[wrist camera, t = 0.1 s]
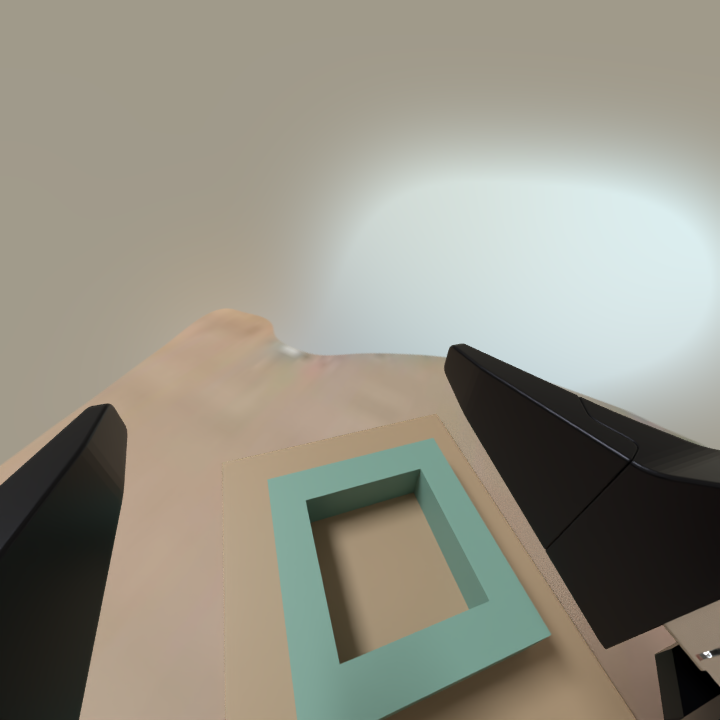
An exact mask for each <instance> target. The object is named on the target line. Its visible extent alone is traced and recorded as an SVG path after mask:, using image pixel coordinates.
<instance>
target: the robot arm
mask: <svg viewBox="0 0 720 720" xmlns="http://www.w3.org/2000/svg"><path fill="white" fill-rule="evenodd" d="M444 371H445V374H446V376H447V379H448V381H449V383H450V385H451V387H452V389H453V392H454V394H455V396H456V398H457V400H458V402H459V405H460V407H461V409H462V411H463V413H464V415H465V417H466V418H467V420H468V422H469V423H470V425H471V427H472V428H473V430H474V432H475V433H476V435H477V437H478V439H479V440H480V442H481V444H482V445H483V447H484V449H485V450H486V452H487V454H488V455H489V457H490V459H491V460H492V462H493V464H494V465H495V467H496V469H497V470H498V472H499V474H500V475H501V477H502V479H503V480H504V482H505V484H506V485H507V487H508V489H509V490H510V492H511V494H512V495H513V497H514V499H515V500H516V502H517V504H518V505H519V507H520V509H521V510H522V512H523V514H524V516H525V517H526V519H527V521H528V522H529V524H530V526H531V527H532V529H533V531H534V532H535V534H536V536H537V537H538V539H539V541H540V542H541V544H542V546H543V547H544V549H546V553H547V554H548V556H549V558H550V559H551V561H552V563H553V564H554V566H555V568H556V569H557V571H558V573H559V574H560V576H561V578H562V579H563V581H564V583H565V584H566V586H567V588H568V589H569V591H570V593H571V594H572V596H573V598H574V600H575V601H576V603H577V605H578V606H579V608H580V610H581V611H582V613H583V615H584V616H585V618H586V620H587V621H588V623H589V625H590V626H591V628H592V630H593V631H594V633H595V635H596V636H597V638H598V640H599V641H600V643H601V644H602V645H603V647H604V648H605V649H608V648H610V647H613V646H615V645H617V644H620V643H622V642H624V641H626V640H629V639H631V638H633V637H636V636H638V635H640V634H643V633H645V632H647V631H649V630H652V629H654V628H656V627H659V626H661V625H663V626H664V627H665V628H666V629H667V631H668V632H669V633H670V634H671V636H672V637H673V638H674V639H675V640H676V643H675V644H673V645H671V646H669V647H667V648H666V649H664V650H662V651H660V652H658V653H656V654H655V659H656V666H657V673H658V680H659V686H660V693H661V700H662V707H663V714H664V720H720V450H716V449H711V448H707V447H703V446H700V445H697V444H694V443H691V442H689V441H686V440H684V439H681V438H679V437H676V436H673V435H671V434H668V433H666V432H663V431H661V430H658V429H656V428H653V427H651V426H648V425H646V424H643V423H640V422H638V421H635V420H633V419H631V418H628V417H626V416H623V415H621V414H618V413H616V412H613V411H611V410H609V409H607V408H604V407H602V406H600V405H597V404H595V403H593V402H591V401H589V400H586V399H584V398H582V397H578V396H577V395H575V394H573V393H571V392H569V391H567V390H564V389H562V388H560V387H558V386H556V385H553V384H551V383H549V382H547V381H545V380H543V379H540V378H538V377H536V376H534V375H532V374H529V373H527V372H525V371H523V370H521V369H518V368H516V367H514V366H512V365H510V364H507V363H505V362H503V361H501V360H499V359H496V358H494V357H492V356H490V355H488V354H486V353H483V352H481V351H479V350H477V349H475V348H472V347H470V346H468V345H466V344H456V345H452V346H451V347H450V348H449V351H448V354H447V358H446V361H445V365H444ZM126 449H127V429H126V426H125V424H124V422H123V421H122V419H121V418H120V416H119V414H118V413H117V411H116V409H115V408H114V407H113V406H112V405H111V404H101V405H95V406H91V407H88V408H87V409H86V410H84V411H83V412H82V413H81V414H80V415H79V416H78V417H77V418H75V419H74V420H73V421H72V422H71V423H70V424H69V425H68V426H66V427H65V428H64V429H63V430H62V431H61V432H60V433H59V434H58V435H56V436H55V437H54V438H53V439H52V440H51V441H50V442H49V443H47V444H46V445H45V446H44V447H43V448H42V449H41V450H40V451H38V452H37V453H36V454H35V455H34V456H33V457H32V458H31V459H29V460H28V461H27V462H26V463H25V464H24V465H23V466H22V467H20V468H19V469H18V470H17V471H16V472H15V473H14V474H13V475H12V476H10V477H9V478H8V479H7V480H6V481H5V482H4V483H3V484H1V485H0V720H79V717H80V712H81V707H82V702H83V697H84V692H85V687H86V682H87V677H88V672H89V666H90V661H91V656H92V651H93V646H94V641H95V636H96V631H97V626H98V621H99V616H100V611H101V606H102V601H103V596H104V591H105V586H106V581H107V575H108V570H109V565H110V560H111V555H112V550H113V545H114V540H115V535H116V530H117V525H118V520H119V515H120V510H121V505H122V499H123V493H124V481H125V465H126Z"/></svg>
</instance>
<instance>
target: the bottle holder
mask: <svg viewBox="0 0 720 720" xmlns="http://www.w3.org/2000/svg"><path fill="white" fill-rule="evenodd" d="M222 501H223V587H224V674H225V720H636V719H635V717H634V716H633V714H632V712H631V711H630V709H629V708H628V706H627V705H626V703H625V702H624V700H623V699H622V697H621V696H620V694H619V693H618V691H617V690H616V688H615V686H614V685H613V683H612V682H611V680H610V679H609V677H608V676H607V674H606V673H605V671H604V670H603V668H602V667H601V665H600V663H599V662H598V660H597V659H596V657H595V656H594V654H593V653H592V651H591V650H590V648H589V647H588V645H587V644H586V642H585V641H584V639H583V637H582V636H581V634H580V633H579V631H578V630H577V628H576V627H575V625H574V624H573V622H572V621H571V619H570V618H569V616H568V614H567V613H566V611H565V610H564V608H563V607H562V605H561V604H560V602H559V601H558V599H557V598H556V596H555V595H554V593H553V592H552V590H551V588H550V587H549V585H548V584H547V582H546V581H545V579H544V578H543V576H542V575H541V573H540V572H539V570H538V569H537V567H536V565H535V564H534V562H533V561H532V559H531V558H530V556H529V555H528V553H527V552H526V550H525V549H524V547H523V546H522V544H521V543H520V541H519V539H518V538H517V536H516V535H515V533H514V532H513V530H512V529H511V527H510V526H509V524H508V523H507V521H506V520H505V518H504V517H503V515H502V513H501V512H500V510H499V509H498V507H497V506H496V504H495V503H494V501H493V500H492V498H491V497H490V495H489V494H488V492H487V490H486V489H485V487H484V486H483V484H482V483H481V481H480V480H479V478H478V477H477V475H476V474H475V472H474V471H473V469H472V468H471V466H470V464H469V463H468V461H467V460H466V458H465V457H464V455H463V454H462V452H461V451H460V449H459V448H458V446H457V445H456V443H455V441H454V440H453V438H452V437H451V435H450V434H449V432H448V431H447V429H446V428H445V426H444V425H443V423H442V422H441V420H440V419H439V417H438V415H437V414H433V415H429V416H425V417H420V418H416V419H412V420H407V421H403V422H399V423H394V424H390V425H386V426H381V427H377V428H372V429H368V430H364V431H359V432H355V433H351V434H346V435H342V436H338V437H333V438H329V439H324V440H320V441H316V442H311V443H307V444H303V445H298V446H294V447H290V448H285V449H281V450H277V451H272V452H268V453H263V454H259V455H255V456H250V457H246V458H242V459H237V460H233V461H229V462H224V463H222Z"/></svg>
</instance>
